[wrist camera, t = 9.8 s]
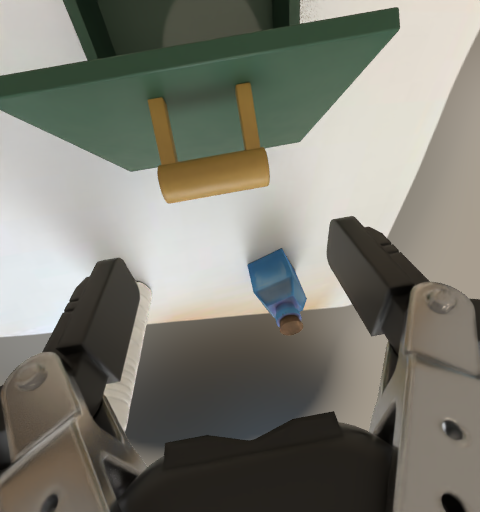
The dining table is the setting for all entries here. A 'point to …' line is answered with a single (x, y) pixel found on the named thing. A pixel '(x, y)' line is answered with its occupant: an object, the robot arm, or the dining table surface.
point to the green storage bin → (170, 22)
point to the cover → (202, 100)
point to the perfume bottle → (279, 290)
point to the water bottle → (130, 361)
